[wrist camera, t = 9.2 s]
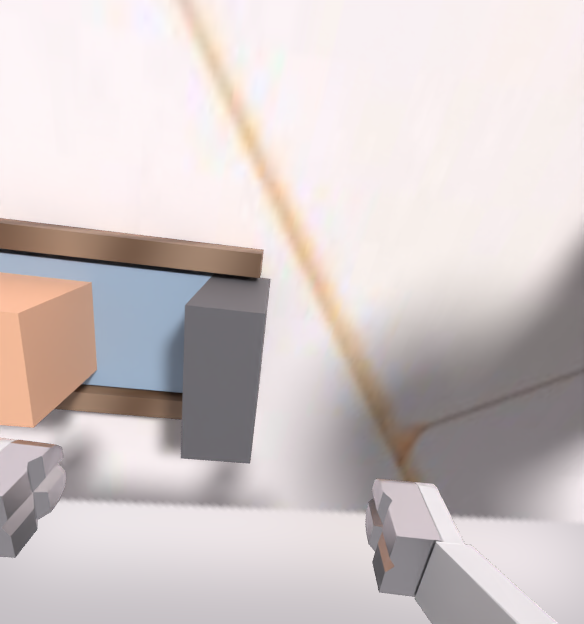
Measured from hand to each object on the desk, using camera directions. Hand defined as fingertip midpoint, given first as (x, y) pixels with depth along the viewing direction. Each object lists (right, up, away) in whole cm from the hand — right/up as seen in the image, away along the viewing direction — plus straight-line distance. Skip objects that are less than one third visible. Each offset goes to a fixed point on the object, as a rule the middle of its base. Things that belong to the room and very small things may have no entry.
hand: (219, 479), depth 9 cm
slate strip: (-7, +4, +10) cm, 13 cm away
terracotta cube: (-11, +4, +9) cm, 15 cm away
